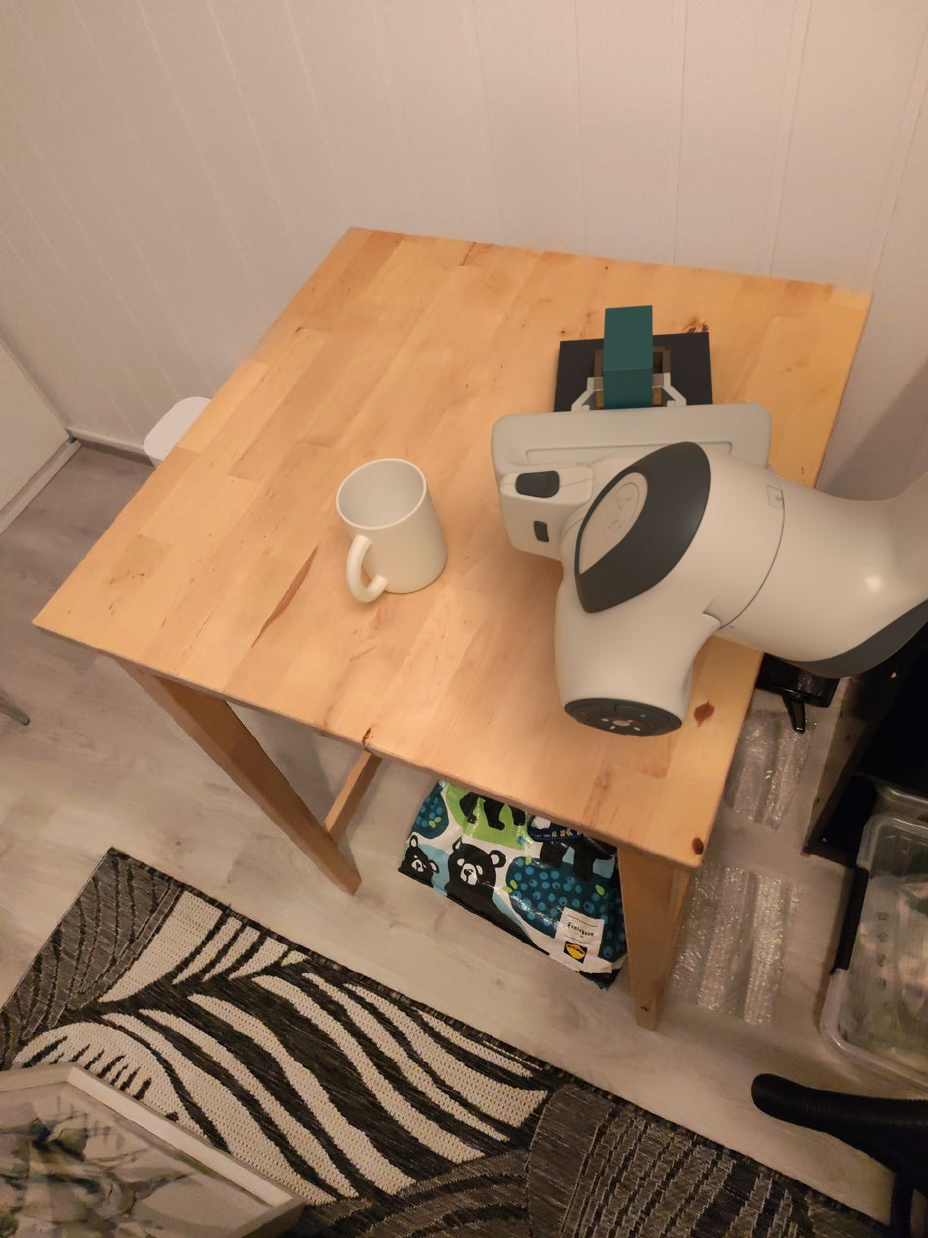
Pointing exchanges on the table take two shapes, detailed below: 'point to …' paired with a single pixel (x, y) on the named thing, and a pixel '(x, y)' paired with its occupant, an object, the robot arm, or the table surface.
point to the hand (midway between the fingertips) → (628, 381)
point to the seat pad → (670, 355)
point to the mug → (390, 529)
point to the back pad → (628, 357)
